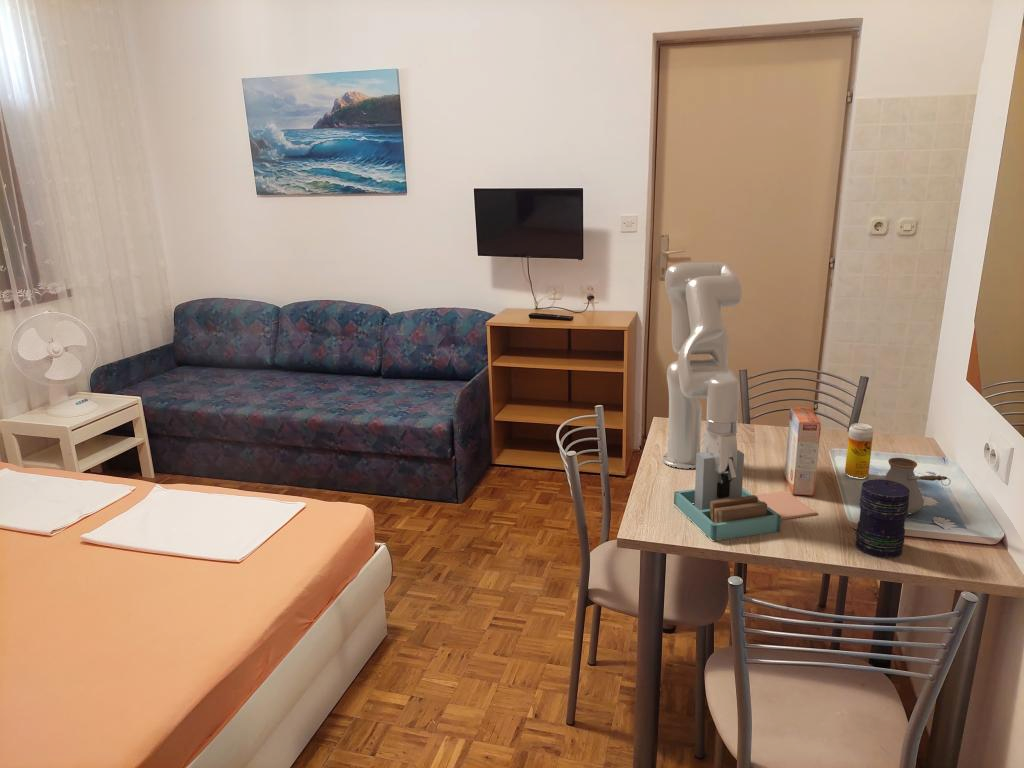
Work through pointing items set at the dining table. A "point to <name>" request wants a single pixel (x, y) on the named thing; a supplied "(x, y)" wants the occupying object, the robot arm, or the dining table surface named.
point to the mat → (786, 505)
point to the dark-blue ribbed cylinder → (882, 518)
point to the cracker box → (802, 450)
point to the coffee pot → (909, 480)
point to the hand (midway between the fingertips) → (718, 492)
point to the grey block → (714, 480)
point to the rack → (726, 528)
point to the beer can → (859, 450)
